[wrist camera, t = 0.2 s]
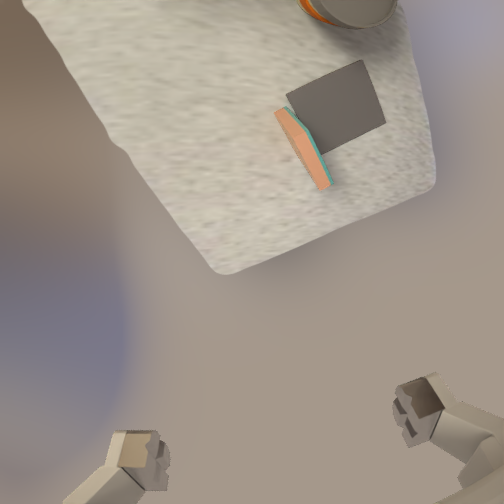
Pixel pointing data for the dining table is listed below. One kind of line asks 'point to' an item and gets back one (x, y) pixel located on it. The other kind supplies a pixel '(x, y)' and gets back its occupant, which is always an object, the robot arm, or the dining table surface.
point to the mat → (338, 106)
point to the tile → (304, 147)
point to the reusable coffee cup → (350, 12)
